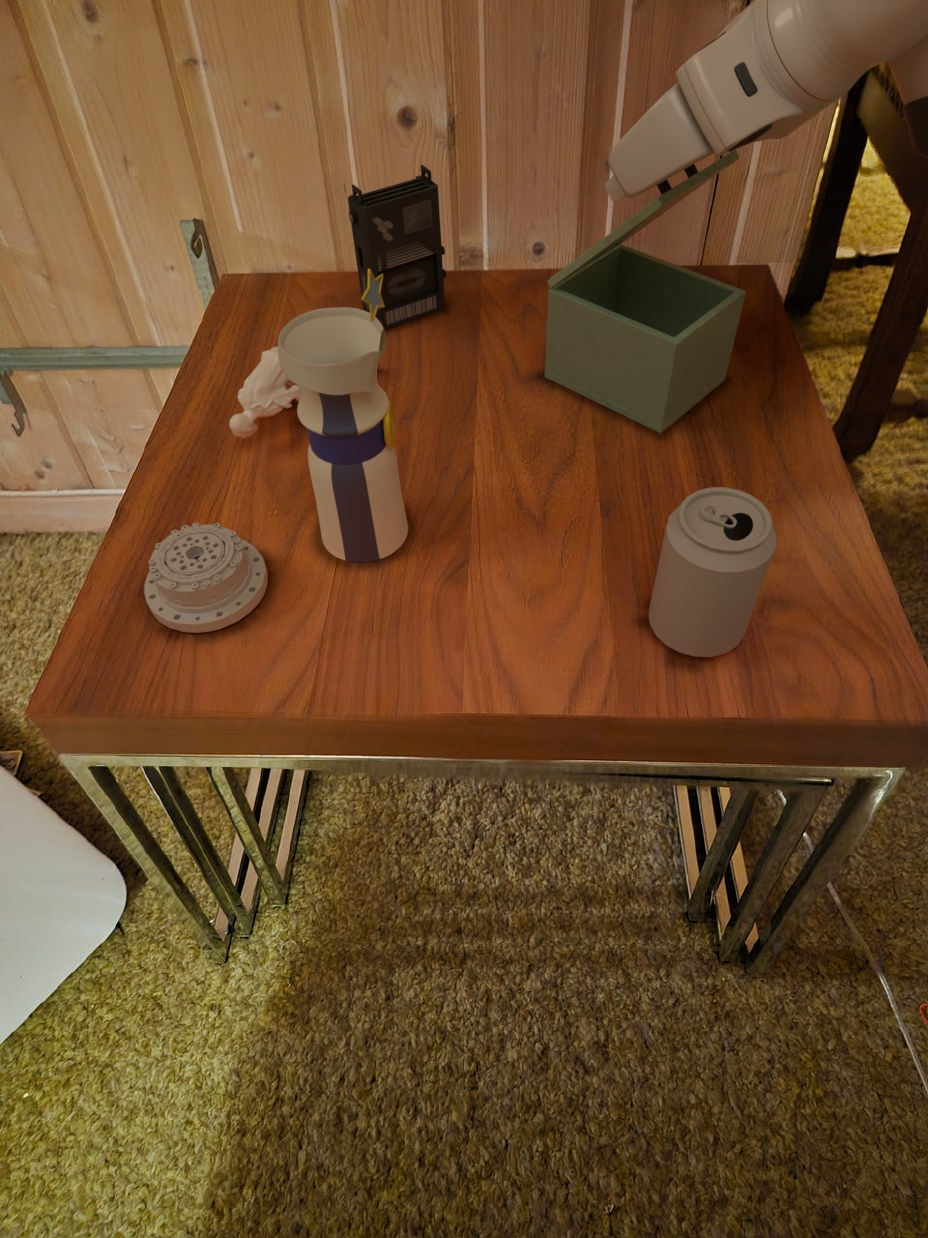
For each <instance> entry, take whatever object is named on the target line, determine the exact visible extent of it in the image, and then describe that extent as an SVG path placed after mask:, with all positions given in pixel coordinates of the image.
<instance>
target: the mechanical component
mask: <svg viewBox="0 0 928 1238" xmlns="http://www.w3.org/2000/svg"><path fill="white" fill-rule="evenodd" d="M154 548H155V549H154V550H153V551H152V554H151V556H150V558H149V559H148V560H147V563H148V568H149V571H148V573H147V575H146V578H145V580H144V586H143V594H144V597H145V601H146V604H147V606H148V609H149V611H150V612H151V614H152V615H153V616H154V617H155V618H156V620H157V621H158V622H159V623H160V624H162V625H163V626H166V627H167V628H169V629H172V630H174V631H175V630H176V631H179V632H182V633H192V634H193V633H194V634H200V633H207V632H208V633H209V632H214V631H218V630H222V629H223V628H227V627H228V626H231V625H233V624H235V623H238V622H239V621H240V620H242V619H243V618H244V617H247V615H249V614H251V612H252V611H253V610H255V608H256V607H257V606H258V605H259V604H260V603H261V600H262V599H263V597H264V596H265V593H266V591H267V588H268V583H269V581H268V580H269V579H268V578H269V576H268V575H269V574H268V573H269V572H268V571H269V570H268V568H267V565H266V562H265V559H264V557H263V556H262V554H261V553H260V552H259V550H258V549H257V548H256V546H254V545H253V544H251V543H250V542H249V541H246V540H244V539H241V538H240V537H239V535H237V532H236V531H235V530H232V529H230V528H228V527H225V526H222V525H221V523H219V522H215V523H214V524H211V523H208V524H200V522H193V523H192V524H191V525H190V526H189V525H187V524H183V525H182V526H181V527H180V530H178V529H172V530H171V532H170V534H169V535H168V536H167V537H165V538H164V539H163V540H162V541H161V542H157V543H155V545H154Z"/></svg>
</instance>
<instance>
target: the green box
mask: <svg viewBox="0 0 928 1238" xmlns="http://www.w3.org/2000/svg"><path fill="white" fill-rule="evenodd" d="M746 293H747V291H746V290H744V289H742V288H739V287H736V286H734V285H731V284H728V283H727V282H723V281H721V280H717V279H715V278H713V277H710V276H707V275H704V274H702V273H699V272H696V271H694V270H691V269H689V268H686V267H683V266H680V265H677V264H675V263H672V262H670V261H667V260H664V259H662V258H659V257H656V256H653V255H651V254H648V253H645V252H643V251H640V250H637V249H635V248H632V247H630V246H627V245H624V244H623V243H621V244H620V245H618V246H617V247H615V248H614V249H612V250H610V251H609V252H607V253H606V254H604V255H603V256H601V257H600V258H598V259H596V260H595V261H593V262H592V263H590V264H589V265H587V266H585V267H584V268H582V269H581V270H579V271H578V272H576V273H574V274H573V275H571V276H570V277H568V278H567V279H565V280H563V281H562V282H560V283H559V284H557V285H556V286H554V287H552V288H550V287H549V288H548V291H547V313H546V334H545V335H546V336H545V357H544V358H545V360H544V378H546V379H547V380H550V381H552V382H554V383H556V384H558V385H560V386H562V387H565V388H566V389H568V390H571V391H573V392H574V393H577V394H578V395H580V396H583V397H585V398H587V399H589V400H591V401H593V402H595V403H596V404H599V405H601V406H604V408H607V409H609V410H612V411H613V412H615V413H617V414H619V415H622V416H624V417H625V418H628V419H630V420H631V421H634V422H636V423H638V424H640V425H642V426H644V427H646V428H648V429H650V430H652V431H654V432H657V433H658V434H662V433H664V432H665V431H666V430H667V429H669V427H671V426H672V425H673V424H674V423H675V422H676V421H678V420H679V419H680V418H681V417H682V416H684V415H685V414H686V413H687V412H689V410H691V409H692V408H693V407H694V406H696V405H697V404H698V403H699V402H701V400H703V399H704V398H705V397H706V396H707V395H709V394H710V393H711V392H713V391H714V389H716V388H717V387H718V386H720V385H721V384H722V383H723V382H725V380H726V378H727V373H728V369H729V364H730V360H731V356H732V351H733V348H734V343H735V340H736V335H737V331H738V327H739V322H740V318H741V314H742V309H743V306H744V302H745V299H746V298H745V297H746Z"/></svg>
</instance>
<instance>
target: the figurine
mask: <svg viewBox="0 0 928 1238" xmlns="http://www.w3.org/2000/svg"><path fill="white" fill-rule="evenodd" d="M287 386H290V387H289V388H287ZM237 393H238V394H237V401H238V403H239V404H240V405H241V407H242V409H243V412H241V413H235V414H233V415H232V416H231V417H230V418H229V421H228V422H229V423H228V426H229V429H230V430H231V433H232V434H233V436H235V437H237V438H241V439H247V438H251V437H252V436H253V435H254V434H255V433H257V430H258V427H259V426H258V425H257V424H256V423H255V420H256V419H258V418H268V417H274V416H275V415H277V414H279V413H281V412H282V411H283V410H284V408H285V409H287V410H288V409H290V408H292V407H293V405H292V404H291V403H292V402H293V400H295V401H296V402H297V403H298V404H299V401H300V399H301V398H302V390H301V386H299V385H298V384H296V383H294V382H293V381H291V380H290V379H288V378H287V377H286V376H285V375H284V373H283V372H282V370H281V368H280V364H279V357H278V345H277V346H273V347H272V348H270V349H267V350H264V351H262V352H261V357H260V362H258V364H257V365H256V367H255V368H254V369H253V370H252V372H251V373H250V374H249V375H248V376H247V377H246V378H245V380H244V382H243V385H242V387H241V388H240V389H238V392H237Z"/></svg>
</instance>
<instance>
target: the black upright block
mask: <svg viewBox="0 0 928 1238" xmlns="http://www.w3.org/2000/svg"><path fill="white" fill-rule="evenodd" d="M420 174H421V175H420ZM420 174H419V175H416V176H415V178H413V179H410V180H406V181H402V182H400V183H396V184H392V185H389V186H386V187H382V188H379V189H378V188H377V189H375V190H371V191H368V192H365V193H363V191H362V190H361V189H360V188H359V187H358V186H357V185H355V184H351V190H352V194H350V195H348V197H347V202H348V203H347V204H348V216H349V217H348V218H349V221H350V225H351V231H352V232H351V233H352V239H353V247H354V254H355V261H356V267H357V275H358V282H359V288H360V296H361V298H362V296H363V294H364V293H365V291H366V289H367V278H368V269H370V270H371V271H372V273H373V275H374V277H375V278H377V277H378V276H379V275H380V274H383V281H382V287H381V296H382V299H383V302H384V305H385V307H384V308H378V309H377V312H376V316H375V317H376V318H377V319H378V320H379V321H380V323H381V324H382V326H383V328H384V330H385V331H386V330H388V329H391V328H394V327H397V326H400V325H402V324H405V323H408V322H411V321H414V320H417V319H419V318H422V317H425V316H428V315H431V314H435V313H437V312H440V311H443V310H444V309H445V307H446V299H445V283H444V278H447V272H446V269H444V267H443V265H444V264H443V256H444V255H445V254H446V249H445V247H444V246H443V245H442V233H441V218H440V217H441V215H440V198H439V197H440V196H439V184H437V183H436V182H434V181H433V180H432V171H431V169H429V168H428V167H427V166H425V165H423V164H420ZM361 302H362V310H364V311H366V312H368V313H370V307H369V303H366V302H364V301H362V300H361Z"/></svg>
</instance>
